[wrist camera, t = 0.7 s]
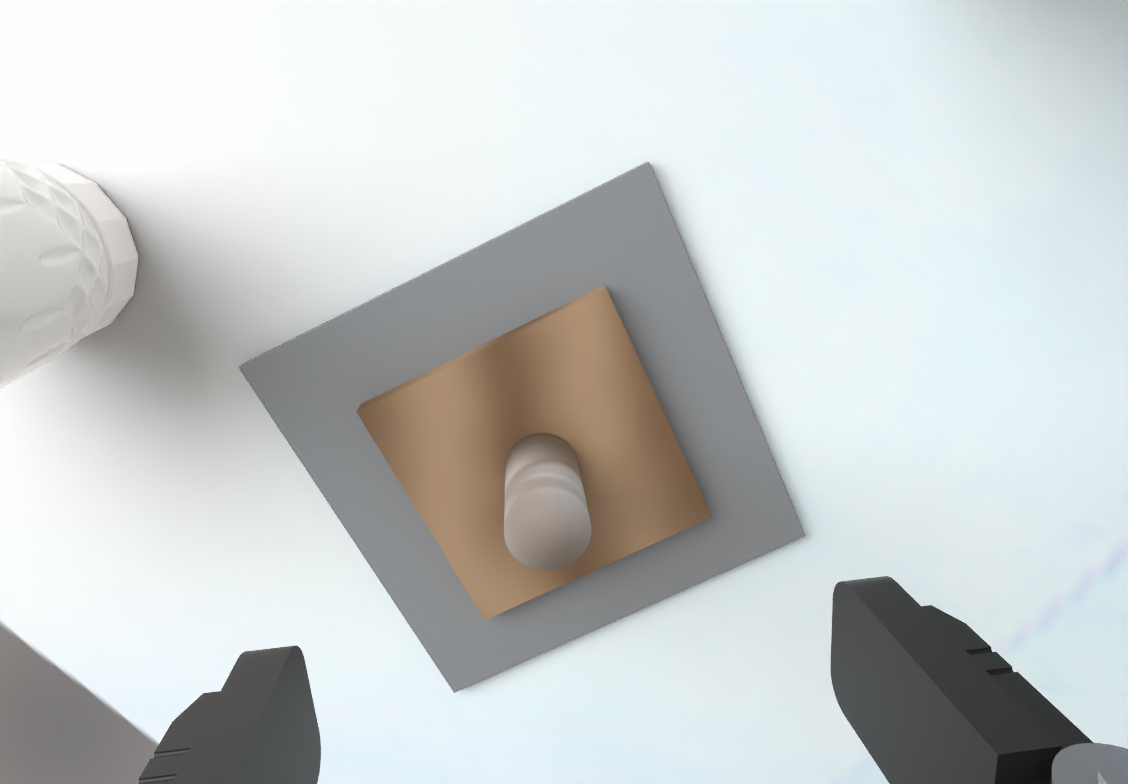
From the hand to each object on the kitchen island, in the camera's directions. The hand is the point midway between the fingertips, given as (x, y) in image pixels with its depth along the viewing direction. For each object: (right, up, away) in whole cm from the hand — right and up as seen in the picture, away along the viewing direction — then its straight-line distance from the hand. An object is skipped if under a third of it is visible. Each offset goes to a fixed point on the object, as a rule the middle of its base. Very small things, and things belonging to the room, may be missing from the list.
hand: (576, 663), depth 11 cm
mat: (-1, +1, +21) cm, 21 cm away
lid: (-1, +1, +20) cm, 20 cm away
